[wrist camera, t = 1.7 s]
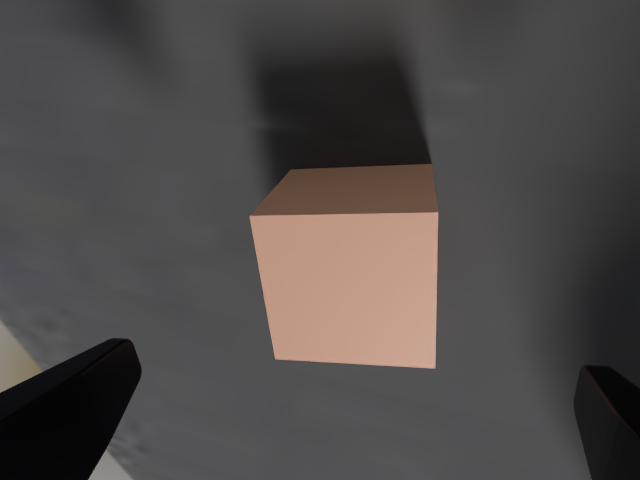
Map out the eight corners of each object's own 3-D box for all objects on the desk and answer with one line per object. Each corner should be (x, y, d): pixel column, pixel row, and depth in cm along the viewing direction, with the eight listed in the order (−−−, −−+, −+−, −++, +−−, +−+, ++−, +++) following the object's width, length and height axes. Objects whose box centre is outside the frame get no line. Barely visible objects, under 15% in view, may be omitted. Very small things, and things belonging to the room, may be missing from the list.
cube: (430, 287, 15) (435, 368, 11) (306, 285, 16) (275, 359, 12) (431, 162, 13) (438, 212, 9) (291, 168, 14) (249, 215, 10)
